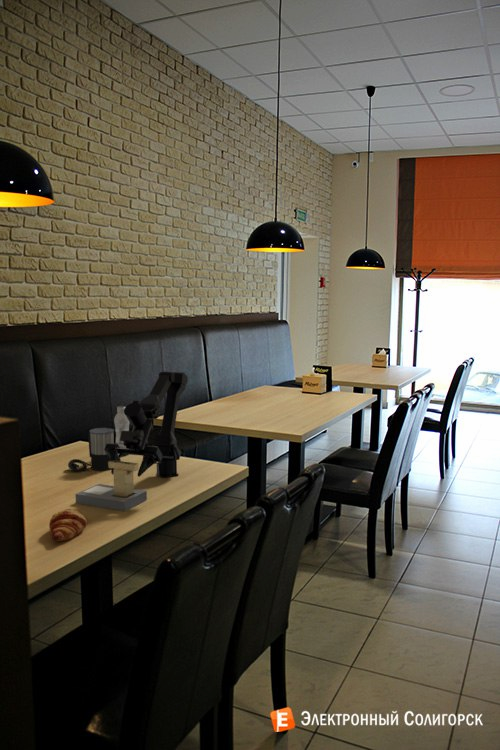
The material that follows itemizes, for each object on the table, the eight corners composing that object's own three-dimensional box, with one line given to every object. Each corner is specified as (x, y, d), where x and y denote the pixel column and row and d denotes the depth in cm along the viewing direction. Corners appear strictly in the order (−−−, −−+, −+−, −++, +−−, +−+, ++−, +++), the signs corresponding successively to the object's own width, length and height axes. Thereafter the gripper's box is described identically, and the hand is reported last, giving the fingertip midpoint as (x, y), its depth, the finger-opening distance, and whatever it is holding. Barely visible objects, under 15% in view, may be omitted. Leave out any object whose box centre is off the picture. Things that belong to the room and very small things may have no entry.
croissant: (69, 530, 194) (55, 507, 193) (98, 514, 193) (85, 491, 192) (47, 557, 172) (32, 531, 172) (80, 540, 172) (65, 514, 171)
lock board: (146, 499, 210) (146, 490, 210) (124, 511, 199) (124, 501, 199) (99, 492, 218) (99, 483, 217) (75, 503, 207) (75, 493, 207)
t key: (115, 499, 210) (114, 459, 209) (141, 503, 206) (140, 462, 205) (107, 503, 207) (106, 462, 205) (133, 507, 202) (132, 465, 201)
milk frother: (120, 466, 250) (119, 429, 248) (89, 476, 237) (88, 437, 235) (94, 461, 258) (92, 425, 256) (63, 471, 245) (61, 432, 243)
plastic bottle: (117, 456, 265) (116, 408, 262) (113, 453, 271) (111, 406, 268) (132, 455, 268) (131, 407, 265) (128, 451, 274) (126, 405, 271)
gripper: (106, 418, 212) (89, 459, 203) (158, 421, 207) (143, 464, 198) (118, 437, 221) (102, 477, 211) (168, 440, 215) (155, 482, 206)
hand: (125, 474), depth 206 cm, fingers open, 9 cm apart
